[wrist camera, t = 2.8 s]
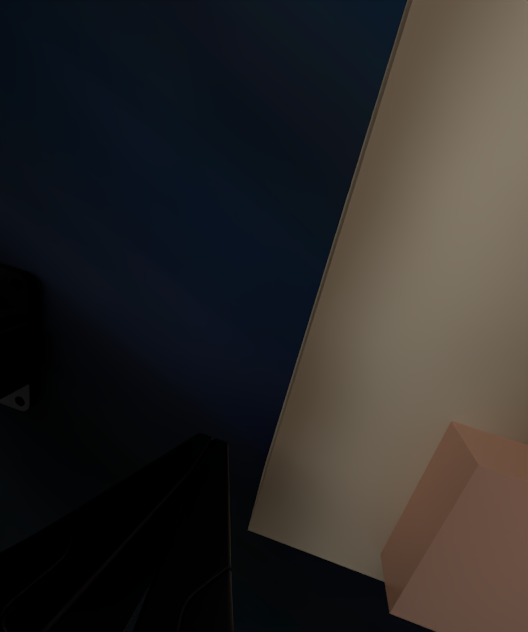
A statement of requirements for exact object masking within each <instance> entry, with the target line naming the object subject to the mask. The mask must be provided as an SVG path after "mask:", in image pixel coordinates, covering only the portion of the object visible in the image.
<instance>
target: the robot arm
mask: <svg viewBox="0 0 528 632" xmlns="http://www.w3.org/2000/svg"><path fill="white" fill-rule="evenodd" d="M21 283H22V285H21ZM0 403H1V404H4V405H6V406H9V407H12V408H15V409H17V410H20V411H26V410H28V409H30V408H31V407H33V406H35V405H36V403H37V284H36V281H35V279H34V277H33V276H32V275H31V274H30V273H28V272H27V271H24V270H20V269H17V268H14V267H11V266H7V265H4V264H1V263H0ZM230 570H231V540H230V495H229V450H228V443H227V442H225V441H222V440H219V439H216V438H215V439H213V438H212V437H211V436H208V435H205V434H202V433H198V434H196V435H195V436H193V437H192V438H190V439H188V440H187V441H185V442H183V443H182V444H180V445H179V446H177V447H175V448H174V449H172V450H171V451H169V452H167V453H166V454H164V455H162V456H161V457H159V458H158V459H156V460H154V461H153V462H151V463H150V464H148V465H146V466H145V467H143V468H141V469H140V470H138V471H137V472H135V473H133V474H132V475H130V476H129V477H127V478H125V479H124V480H122V481H120V482H119V483H117V484H116V485H114V486H112V487H111V488H109V489H108V490H106V491H104V492H103V493H101V494H100V495H98V496H96V497H95V498H93V499H91V500H90V501H88V502H87V503H85V504H83V505H82V506H80V507H79V509H78V510H77V509H75V510H73V511H72V512H70V513H69V514H67V515H65V516H64V517H62V518H61V519H59V520H57V521H56V522H54V523H52V524H50V525H49V526H47V527H45V528H44V529H42V530H40V531H39V532H37V533H35V534H34V535H32V536H30V537H28V538H27V539H25V540H23V541H21V542H19V543H17V544H15V545H14V546H12V547H10V548H8V549H6V550H4V551H2V552H1V553H0V632H124V630H125V628H126V626H127V625H128V623H129V621H130V619H131V617H132V615H133V614H134V612H135V610H136V608H137V606H138V605H139V603H140V601H141V599H142V597H143V596H144V594H145V592H146V590H147V588H148V587H149V585H150V583H151V585H150V588H149V590H148V593H147V595H146V598H145V601H144V603H143V606H142V609H141V611H140V614H139V617H138V619H137V622H136V625H135V627H134V630H133V632H234V623H233V604H232V577H231V571H230ZM152 579H153V580H152ZM151 581H152V582H151Z"/></svg>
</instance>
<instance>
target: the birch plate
mask: <svg viewBox="0 0 528 632" xmlns="http://www.w3.org/2000/svg"><path fill="white" fill-rule="evenodd" d="M451 421H453V422H456V423H460V424H463V425H466V426H469V427H472V428H475V429H479V430H482V431H485V432H488V433H491V434H495V435H498V436H501V437H504V438H507V439H511V440H514V441H517V442H520V443H523V444H526V445H528V0H407V3H406V6H405V10H404V13H403V16H402V19H401V23H400V26H399V29H398V33H397V36H396V39H395V42H394V46H393V49H392V52H391V55H390V59H389V62H388V65H387V68H386V72H385V75H384V78H383V81H382V85H381V88H380V91H379V94H378V98H377V101H376V104H375V107H374V111H373V114H372V117H371V121H370V124H369V127H368V130H367V134H366V137H365V140H364V143H363V147H362V150H361V153H360V156H359V160H358V163H357V166H356V169H355V173H354V176H353V179H352V182H351V186H350V189H349V192H348V195H347V199H346V202H345V205H344V208H343V212H342V215H341V218H340V222H339V225H338V228H337V231H336V235H335V238H334V241H333V244H332V248H331V251H330V254H329V257H328V261H327V264H326V267H325V270H324V274H323V277H322V280H321V283H320V287H319V290H318V293H317V296H316V300H315V303H314V306H313V310H312V313H311V316H310V319H309V323H308V326H307V329H306V332H305V336H304V339H303V342H302V345H301V349H300V352H299V355H298V358H297V362H296V365H295V368H294V371H293V375H292V378H291V381H290V384H289V388H288V391H287V394H286V398H285V401H284V404H283V407H282V411H281V414H280V417H279V420H278V424H277V427H276V430H275V433H274V437H273V440H272V443H271V446H270V450H269V453H268V456H267V459H266V463H265V466H264V470H263V474H262V478H261V482H260V485H259V489H258V493H257V497H256V501H255V504H254V508H253V512H252V516H251V520H250V523H249V527H248V530H249V531H252V532H255V533H257V534H260V535H263V536H265V537H268V538H270V539H273V540H276V541H278V542H281V543H284V544H286V545H289V546H292V547H294V548H297V549H299V550H302V551H305V552H307V553H310V554H313V555H315V556H318V557H320V558H323V559H326V560H328V561H331V562H334V563H336V564H339V565H341V566H344V567H347V568H349V569H352V570H355V571H357V572H360V573H362V574H365V575H368V576H370V577H373V578H376V579H378V580H381V581H383V582H385V581H384V575H383V568H382V562H381V555H380V554H381V552H382V551H383V549H384V547H385V545H386V543H387V541H388V539H389V537H390V536H391V534H392V532H393V530H394V528H395V526H396V524H397V522H398V520H399V519H400V517H401V515H402V513H403V511H404V509H405V507H406V505H407V503H408V502H409V500H410V498H411V496H412V494H413V492H414V490H415V488H416V487H417V485H418V483H419V481H420V479H421V477H422V475H423V473H424V471H425V470H426V468H427V466H428V464H429V462H430V460H431V458H432V456H433V454H434V453H435V451H436V449H437V447H438V445H439V443H440V441H441V439H442V437H443V436H444V434H445V432H446V430H447V428H448V426H449V424H450V422H451Z"/></svg>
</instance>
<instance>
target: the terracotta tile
mask: <svg viewBox="0 0 528 632" xmlns="http://www.w3.org/2000/svg"><path fill="white" fill-rule="evenodd" d="M380 555H381V562H382V568H383V575H384V581H385V588H386V594H387V600H388V607H389V613H390V614H393V615H395V616H398V617H400V618H403V619H405V620H408V621H410V622H413V623H416V624H418V625H421V626H423V627H426V628H428V629H431V630H433V631H436V632H528V445H526V444H523V443H520V442H517V441H514V440H511V439H507V438H504V437H501V436H498V435H495V434H491V433H488V432H485V431H482V430H479V429H475V428H472V427H469V426H466V425H463V424H460V423H456V422H453V421H451V422H450V424H449V426H448V428H447V430H446V432H445V434H444V436H443V437H442V439H441V441H440V443H439V445H438V447H437V449H436V451H435V453H434V454H433V456H432V458H431V460H430V462H429V464H428V466H427V468H426V470H425V471H424V473H423V475H422V477H421V479H420V481H419V483H418V485H417V487H416V488H415V490H414V492H413V494H412V496H411V498H410V500H409V502H408V503H407V505H406V507H405V509H404V511H403V513H402V515H401V517H400V519H399V520H398V522H397V524H396V526H395V528H394V530H393V532H392V534H391V536H390V537H389V539H388V541H387V543H386V545H385V547H384V549H383V551H382V552H381V554H380Z"/></svg>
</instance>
